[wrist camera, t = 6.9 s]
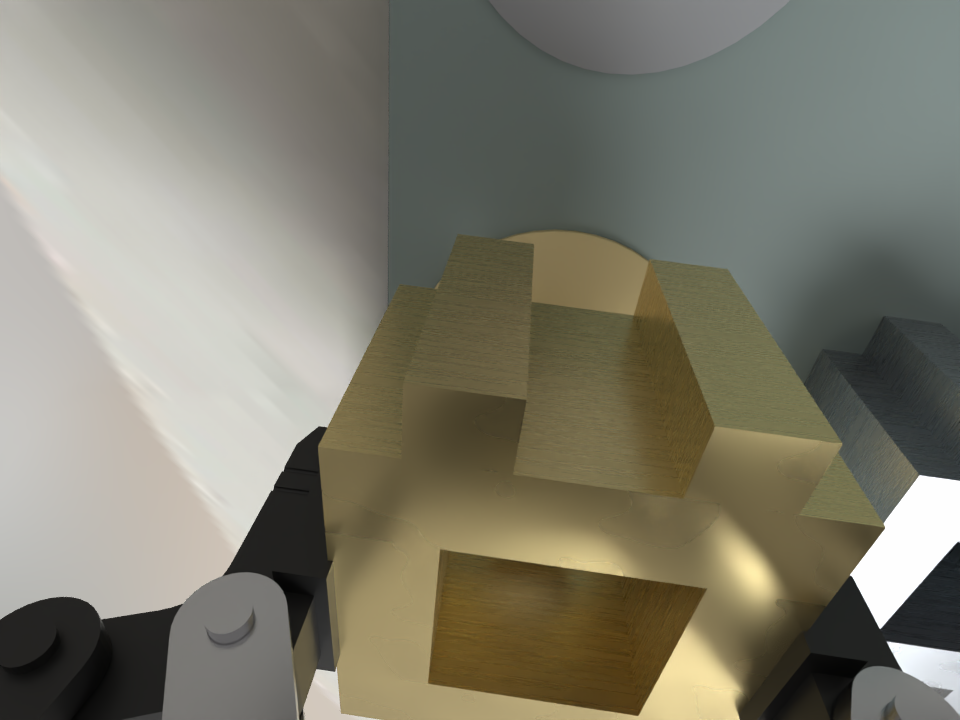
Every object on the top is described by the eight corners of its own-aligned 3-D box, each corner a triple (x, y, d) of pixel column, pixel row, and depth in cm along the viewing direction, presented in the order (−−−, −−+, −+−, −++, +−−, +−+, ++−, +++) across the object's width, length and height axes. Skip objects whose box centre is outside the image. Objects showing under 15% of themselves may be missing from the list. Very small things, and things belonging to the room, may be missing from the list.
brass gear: (787, 277, 9) (940, 457, 5) (648, 588, 13) (683, 793, 10) (400, 227, 9) (311, 370, 5) (394, 551, 13) (343, 740, 10)
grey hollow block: (1126, 347, 12) (1349, 484, 9) (924, 576, 16) (1021, 725, 13) (842, 310, 12) (953, 430, 9) (719, 546, 17) (762, 685, 13)
